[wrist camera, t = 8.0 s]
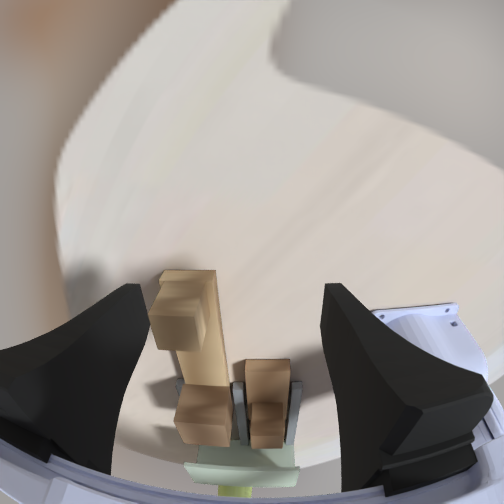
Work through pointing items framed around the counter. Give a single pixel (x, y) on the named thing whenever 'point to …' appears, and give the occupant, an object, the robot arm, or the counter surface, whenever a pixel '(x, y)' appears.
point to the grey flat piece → (242, 420)
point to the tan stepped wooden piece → (191, 325)
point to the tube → (234, 491)
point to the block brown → (267, 401)
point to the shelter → (244, 466)
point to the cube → (204, 415)
